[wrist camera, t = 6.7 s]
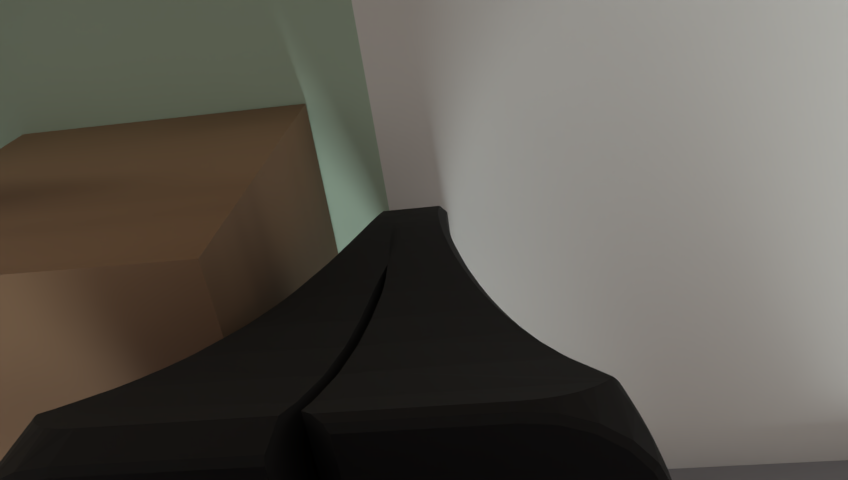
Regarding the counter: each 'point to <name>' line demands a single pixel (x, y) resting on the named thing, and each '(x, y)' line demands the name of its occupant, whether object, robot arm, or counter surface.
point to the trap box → (546, 173)
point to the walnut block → (147, 247)
